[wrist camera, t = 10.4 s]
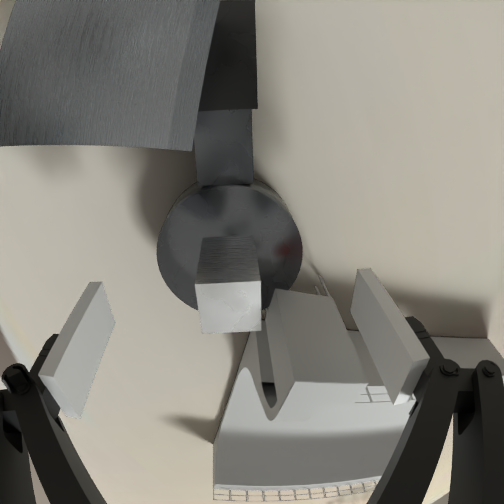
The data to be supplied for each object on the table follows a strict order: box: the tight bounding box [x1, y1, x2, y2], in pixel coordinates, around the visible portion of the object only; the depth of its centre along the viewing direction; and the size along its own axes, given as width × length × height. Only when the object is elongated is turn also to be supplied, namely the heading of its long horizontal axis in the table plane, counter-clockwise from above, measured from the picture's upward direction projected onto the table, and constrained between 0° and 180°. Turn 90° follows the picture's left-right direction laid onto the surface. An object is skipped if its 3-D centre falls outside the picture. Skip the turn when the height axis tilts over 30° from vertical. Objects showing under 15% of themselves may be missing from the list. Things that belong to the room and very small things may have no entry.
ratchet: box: [157, 0, 302, 333], centre depth 16 cm, size 20×9×8 cm, turn 1°
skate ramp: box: [213, 275, 504, 501], centre depth 27 cm, size 30×27×11 cm
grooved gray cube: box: [0, 0, 220, 151], centre depth 11 cm, size 8×8×8 cm
